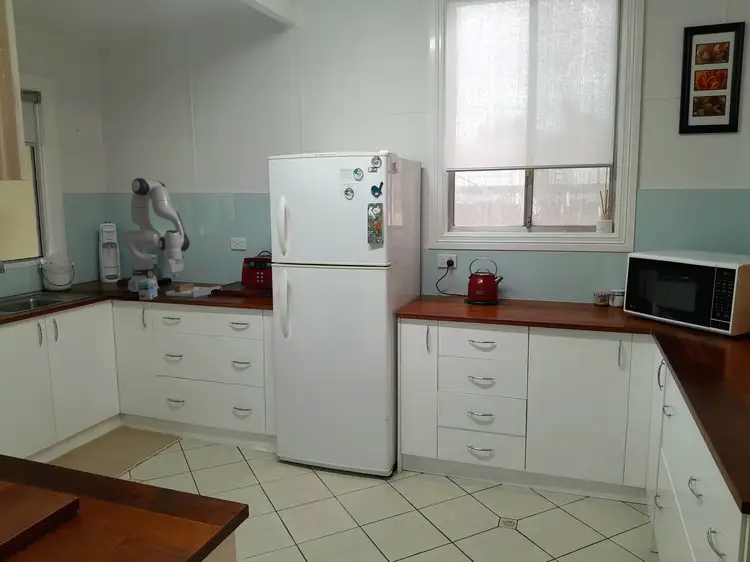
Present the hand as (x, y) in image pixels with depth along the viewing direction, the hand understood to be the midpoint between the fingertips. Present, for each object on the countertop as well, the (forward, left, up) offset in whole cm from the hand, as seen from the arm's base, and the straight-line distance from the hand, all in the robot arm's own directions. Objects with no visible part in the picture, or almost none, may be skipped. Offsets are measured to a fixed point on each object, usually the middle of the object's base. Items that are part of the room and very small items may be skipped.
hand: (175, 279), depth 351 cm
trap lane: (+11, +4, -9) cm, 14 cm away
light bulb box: (-3, -18, -9) cm, 21 cm away
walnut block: (+7, 0, -7) cm, 10 cm away
